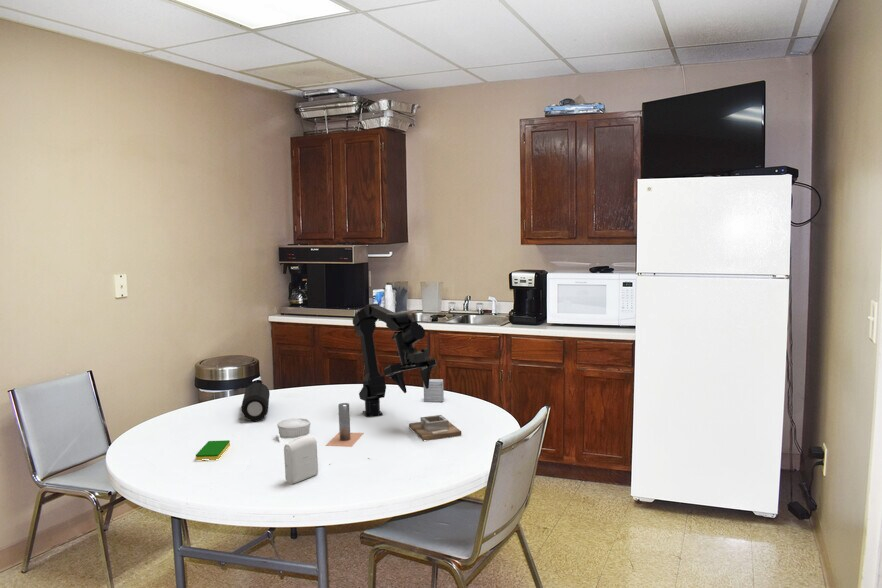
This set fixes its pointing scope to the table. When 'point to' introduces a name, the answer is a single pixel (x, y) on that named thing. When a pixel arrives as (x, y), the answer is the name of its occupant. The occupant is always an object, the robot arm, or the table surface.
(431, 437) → the board
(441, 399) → the medicine box
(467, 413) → the table surface
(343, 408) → the steel peg
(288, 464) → the photo printer
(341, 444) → the peach flat block
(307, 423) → the ramekin
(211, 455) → the dish sponge
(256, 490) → the table surface
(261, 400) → the portable speaker
